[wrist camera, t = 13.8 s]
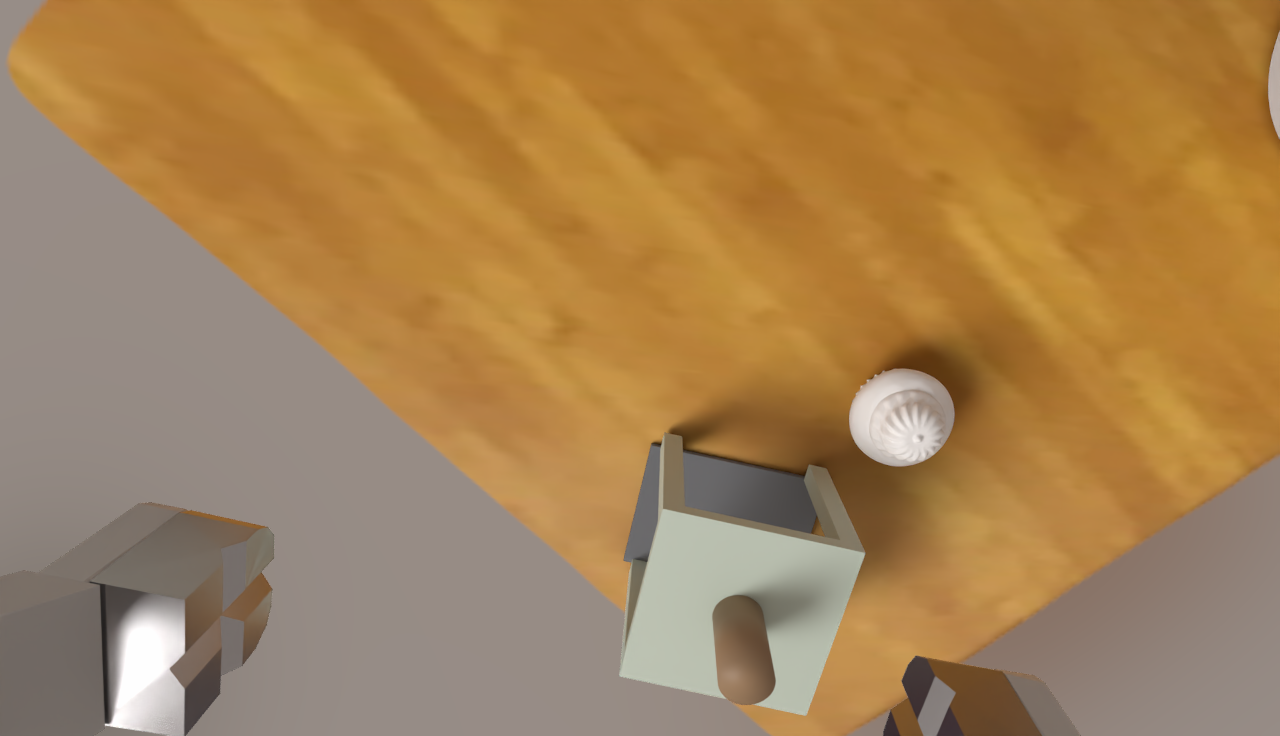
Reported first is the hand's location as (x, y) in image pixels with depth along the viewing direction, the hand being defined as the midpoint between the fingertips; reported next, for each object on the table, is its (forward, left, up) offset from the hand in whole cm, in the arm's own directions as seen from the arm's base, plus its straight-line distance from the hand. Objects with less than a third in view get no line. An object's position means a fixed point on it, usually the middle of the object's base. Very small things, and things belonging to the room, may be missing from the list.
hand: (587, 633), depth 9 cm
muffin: (-17, +7, -38) cm, 42 cm away
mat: (-9, +18, -38) cm, 43 cm away
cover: (-9, +18, -37) cm, 42 cm away
